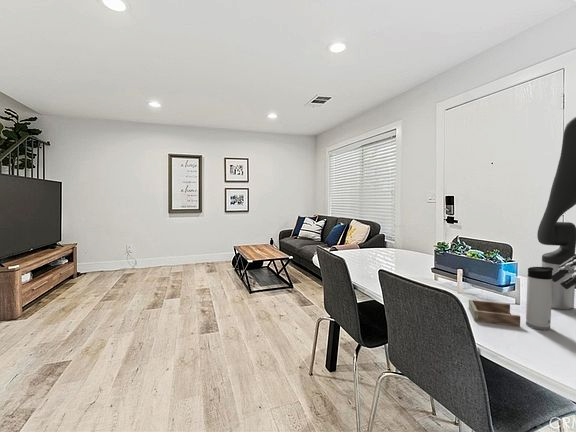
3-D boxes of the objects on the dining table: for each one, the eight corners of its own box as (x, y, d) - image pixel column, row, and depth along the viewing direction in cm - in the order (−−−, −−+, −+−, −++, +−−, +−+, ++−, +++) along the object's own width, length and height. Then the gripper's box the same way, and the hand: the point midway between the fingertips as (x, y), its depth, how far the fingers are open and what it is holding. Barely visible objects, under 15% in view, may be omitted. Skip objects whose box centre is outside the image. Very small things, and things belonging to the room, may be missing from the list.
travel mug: (556, 331, 95) (558, 269, 94) (532, 329, 96) (534, 268, 95) (543, 323, 101) (545, 265, 100) (521, 321, 102) (523, 264, 101)
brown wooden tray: (509, 313, 110) (509, 303, 110) (520, 326, 98) (520, 316, 98) (468, 308, 115) (468, 299, 115) (474, 320, 103) (474, 311, 103)
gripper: (583, 238, 98) (538, 269, 103) (608, 244, 85) (556, 279, 90) (604, 255, 96) (557, 286, 101) (633, 264, 83) (578, 299, 88)
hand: (557, 283), depth 96 cm, fingers open, 8 cm apart
